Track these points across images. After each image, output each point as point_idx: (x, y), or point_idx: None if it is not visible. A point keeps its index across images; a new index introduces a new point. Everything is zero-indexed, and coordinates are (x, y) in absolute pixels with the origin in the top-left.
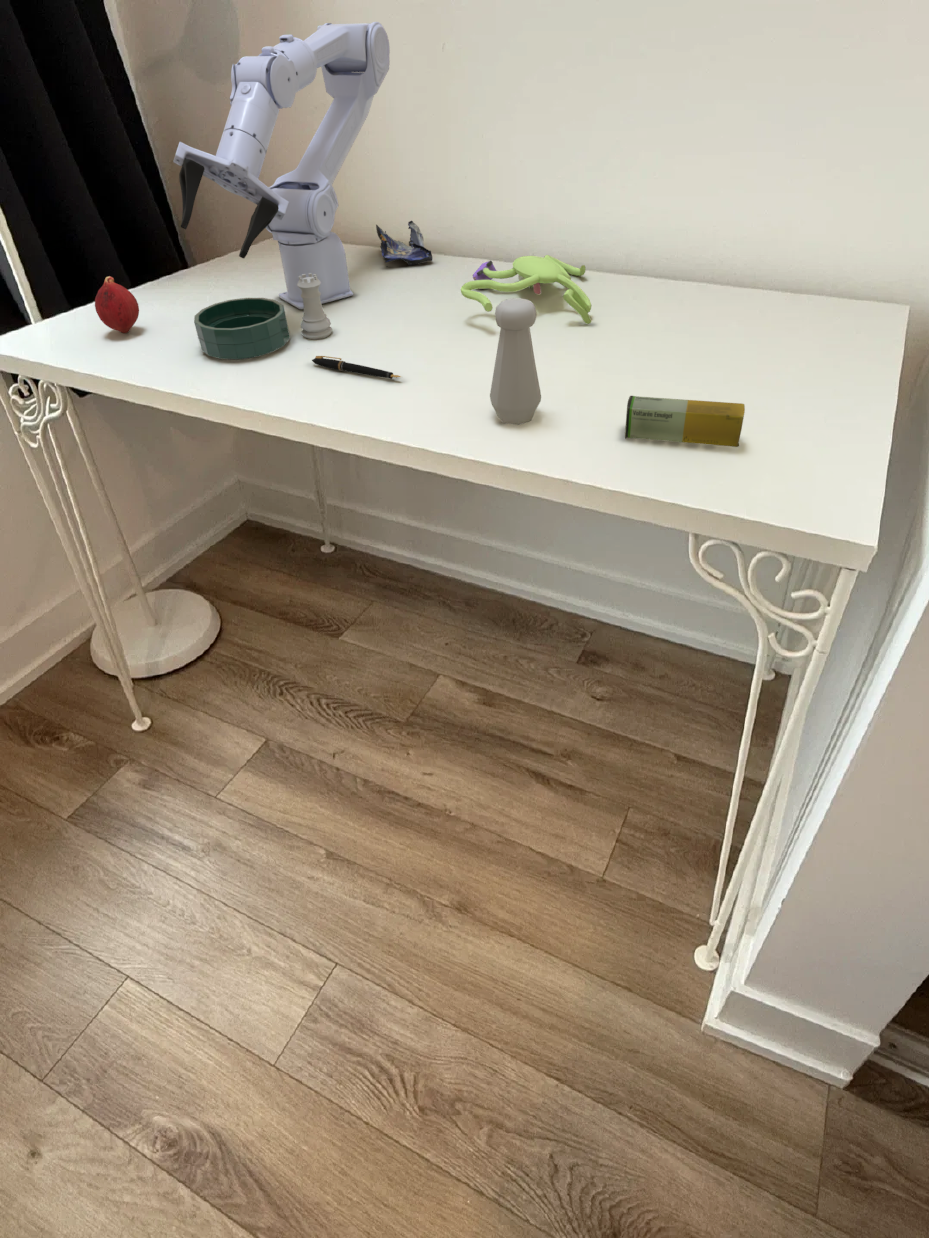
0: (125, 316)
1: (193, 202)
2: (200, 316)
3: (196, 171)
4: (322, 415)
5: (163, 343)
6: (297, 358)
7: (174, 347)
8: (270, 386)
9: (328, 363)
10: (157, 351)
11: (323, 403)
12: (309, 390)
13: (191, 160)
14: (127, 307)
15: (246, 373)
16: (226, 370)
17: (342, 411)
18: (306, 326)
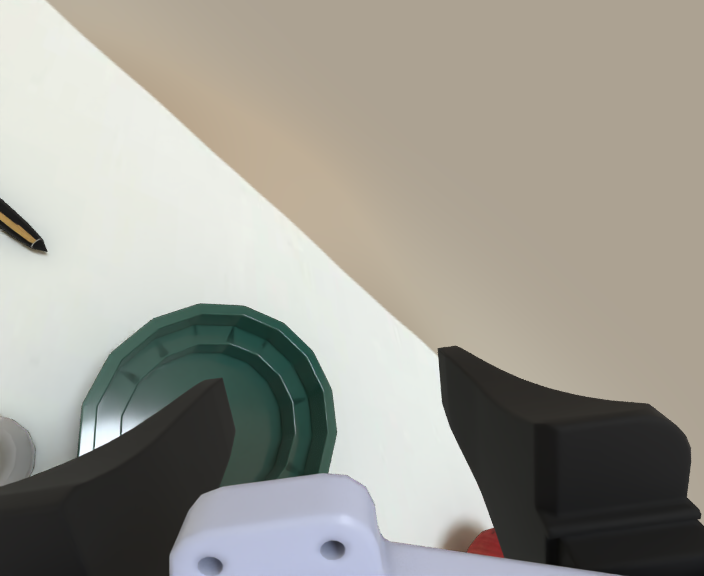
0: (481, 538)
1: (467, 373)
2: (323, 439)
3: (562, 411)
4: (76, 56)
5: (386, 490)
6: (80, 308)
7: (361, 460)
8: (162, 199)
9: (5, 204)
10: (387, 445)
11: (63, 90)
12: (82, 148)
13: (646, 411)
14: (489, 550)
15: (207, 274)
16: (247, 303)
17: (31, 47)
18: (12, 425)
